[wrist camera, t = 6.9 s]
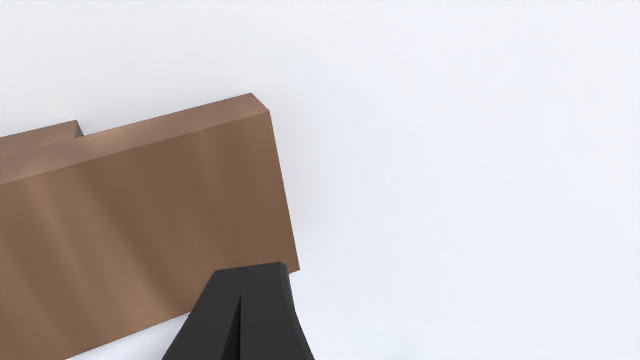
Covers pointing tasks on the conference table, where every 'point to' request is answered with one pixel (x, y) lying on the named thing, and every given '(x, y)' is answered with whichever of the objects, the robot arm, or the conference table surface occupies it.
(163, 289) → the brown wooden block
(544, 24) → the conference table surface
